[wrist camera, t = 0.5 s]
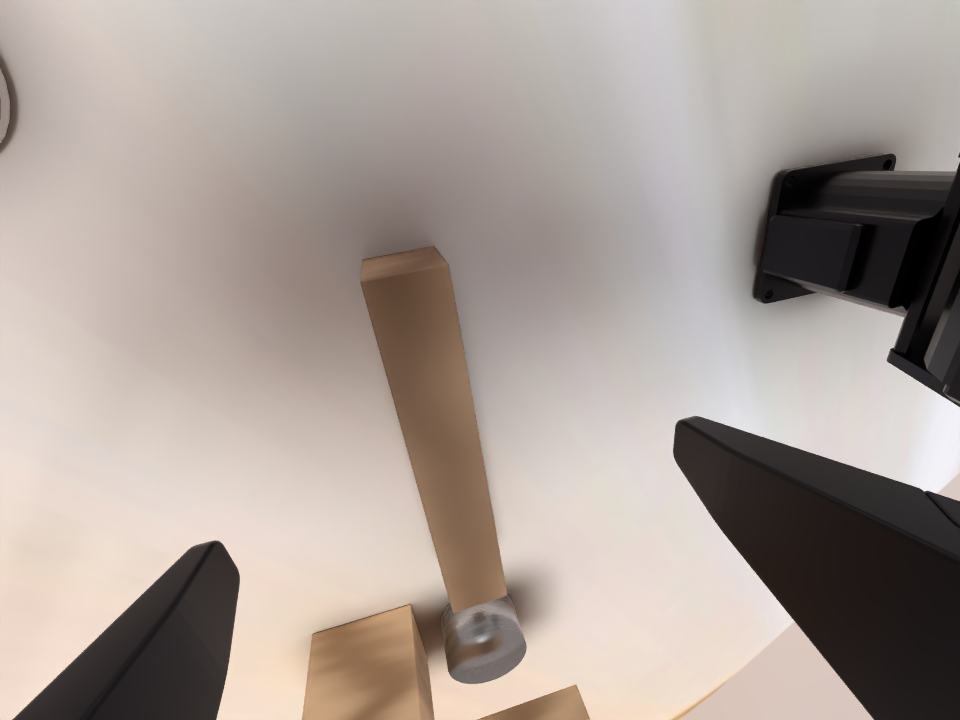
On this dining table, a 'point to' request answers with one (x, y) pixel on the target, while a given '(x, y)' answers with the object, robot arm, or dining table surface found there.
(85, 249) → the dining table surface
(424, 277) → the batten
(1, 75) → the energy drink
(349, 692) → the l-shaped wooden block
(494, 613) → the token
